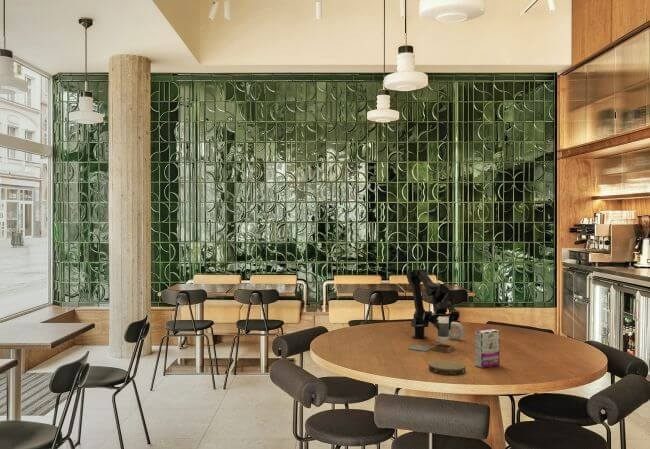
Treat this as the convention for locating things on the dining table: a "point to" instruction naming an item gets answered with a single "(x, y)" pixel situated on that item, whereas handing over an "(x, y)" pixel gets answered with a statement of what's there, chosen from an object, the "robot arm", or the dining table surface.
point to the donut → (459, 333)
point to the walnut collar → (443, 348)
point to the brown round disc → (447, 367)
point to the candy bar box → (487, 348)
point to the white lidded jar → (443, 329)
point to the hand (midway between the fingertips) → (444, 329)
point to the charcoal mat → (420, 348)
